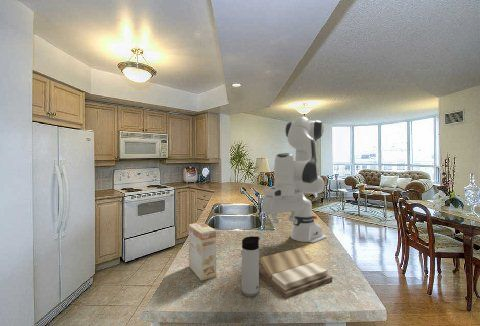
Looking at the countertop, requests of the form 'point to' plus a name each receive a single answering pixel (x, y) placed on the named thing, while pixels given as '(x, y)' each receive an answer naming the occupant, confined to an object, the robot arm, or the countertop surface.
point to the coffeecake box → (202, 250)
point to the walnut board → (295, 289)
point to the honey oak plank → (284, 261)
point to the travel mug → (250, 266)
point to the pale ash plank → (298, 275)
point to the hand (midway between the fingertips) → (283, 221)
